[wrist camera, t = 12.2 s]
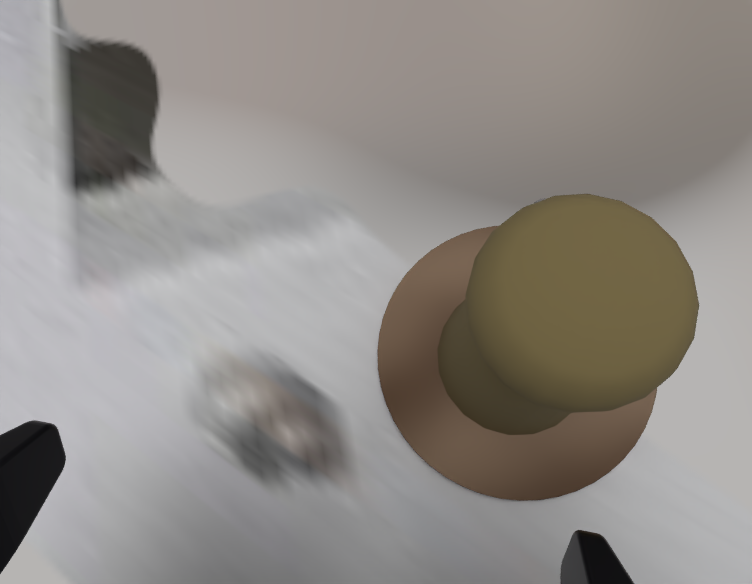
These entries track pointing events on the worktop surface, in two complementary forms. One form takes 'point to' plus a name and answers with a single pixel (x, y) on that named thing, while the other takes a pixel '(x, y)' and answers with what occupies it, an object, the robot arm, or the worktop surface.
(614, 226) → the cork
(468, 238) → the walnut plate
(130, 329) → the worktop surface
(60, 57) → the worktop surface
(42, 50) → the worktop surface
